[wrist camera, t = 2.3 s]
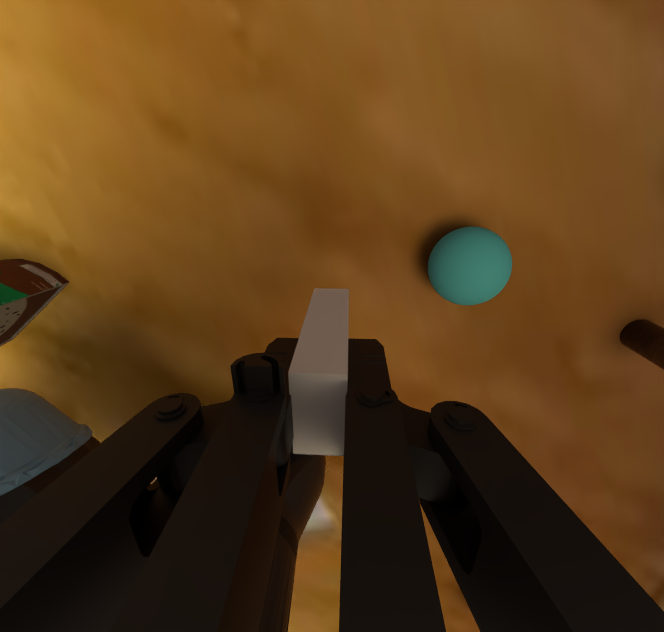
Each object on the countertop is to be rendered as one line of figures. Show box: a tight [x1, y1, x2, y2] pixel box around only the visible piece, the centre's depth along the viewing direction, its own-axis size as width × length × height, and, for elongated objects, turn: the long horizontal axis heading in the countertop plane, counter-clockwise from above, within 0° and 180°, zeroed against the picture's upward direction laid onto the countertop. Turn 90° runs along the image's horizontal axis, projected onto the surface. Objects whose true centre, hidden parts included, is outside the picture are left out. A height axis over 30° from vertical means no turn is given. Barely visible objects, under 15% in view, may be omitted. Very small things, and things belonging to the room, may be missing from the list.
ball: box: [428, 227, 512, 305], centre depth 23 cm, size 6×6×6 cm
